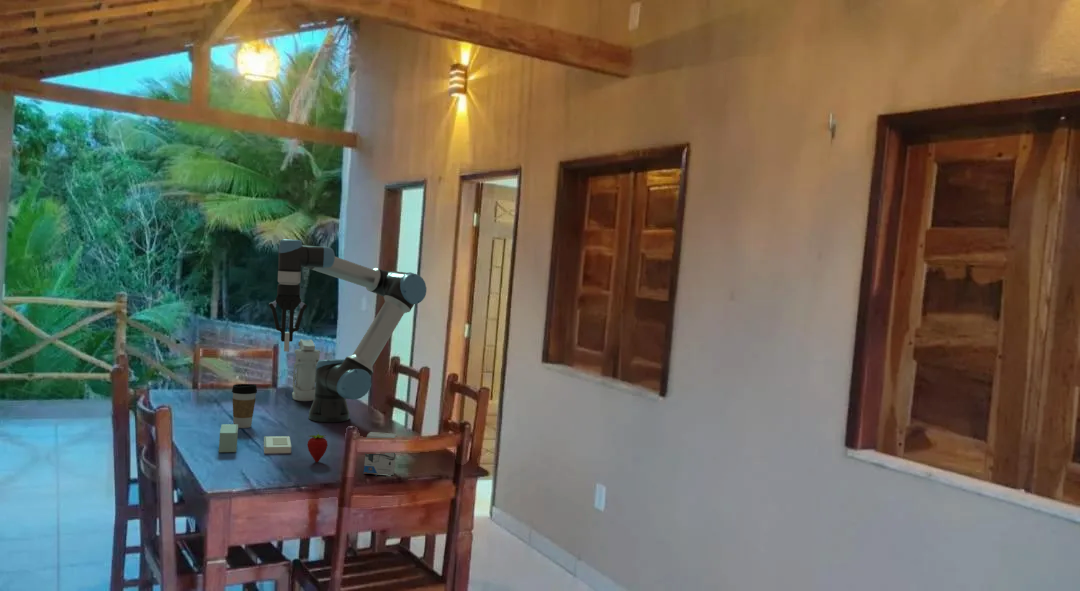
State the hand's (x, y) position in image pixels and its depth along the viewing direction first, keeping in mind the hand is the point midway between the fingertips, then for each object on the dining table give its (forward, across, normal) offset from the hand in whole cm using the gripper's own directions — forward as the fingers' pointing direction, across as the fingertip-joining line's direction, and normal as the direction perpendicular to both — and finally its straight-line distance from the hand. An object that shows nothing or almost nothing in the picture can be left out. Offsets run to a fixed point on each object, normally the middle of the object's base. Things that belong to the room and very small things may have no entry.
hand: (286, 350), depth 267 cm
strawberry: (+29, -7, +41) cm, 50 cm away
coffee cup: (+29, +13, -9) cm, 33 cm away
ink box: (+29, -24, +55) cm, 67 cm away
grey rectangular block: (+28, +18, +22) cm, 40 cm away
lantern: (+30, -12, -62) cm, 70 cm away
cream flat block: (+28, +3, +22) cm, 36 cm away
